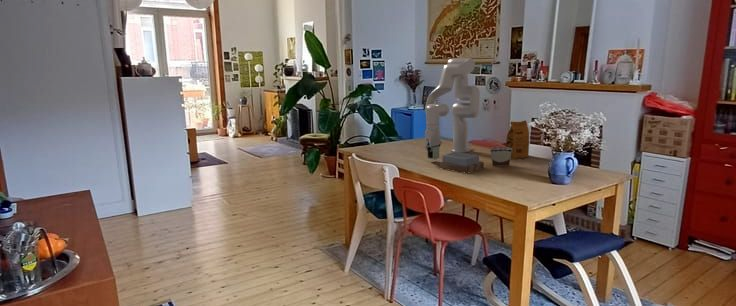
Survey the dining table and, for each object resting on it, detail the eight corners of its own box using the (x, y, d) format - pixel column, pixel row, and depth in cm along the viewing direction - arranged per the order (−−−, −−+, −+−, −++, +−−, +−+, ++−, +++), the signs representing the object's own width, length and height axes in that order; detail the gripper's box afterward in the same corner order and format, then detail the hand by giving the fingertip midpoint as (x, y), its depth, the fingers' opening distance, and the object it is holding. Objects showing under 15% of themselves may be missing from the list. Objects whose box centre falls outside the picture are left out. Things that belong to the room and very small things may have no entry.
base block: (456, 164, 276) (457, 157, 276) (483, 169, 264) (483, 162, 263) (439, 169, 266) (439, 162, 265) (466, 174, 253) (466, 167, 252)
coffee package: (503, 156, 291) (504, 120, 286) (521, 154, 294) (522, 119, 289) (512, 159, 281) (513, 122, 277) (530, 157, 284) (532, 121, 280)
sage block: (432, 156, 285) (432, 145, 283) (439, 157, 281) (439, 146, 280) (427, 158, 282) (427, 146, 280) (434, 159, 278) (433, 147, 277)
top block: (455, 158, 273) (455, 151, 273) (479, 162, 262) (479, 155, 261) (442, 162, 266) (442, 155, 265) (465, 166, 254) (465, 159, 253)
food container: (510, 163, 272) (510, 146, 270) (512, 165, 266) (512, 148, 264) (488, 163, 273) (488, 146, 271) (489, 166, 267) (490, 148, 265)
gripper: (436, 123, 286) (437, 153, 290) (418, 128, 274) (419, 158, 278) (446, 125, 280) (447, 154, 284) (428, 129, 269) (429, 160, 273)
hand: (433, 156), depth 281 cm, fingers closed on sage block, 5 cm apart
